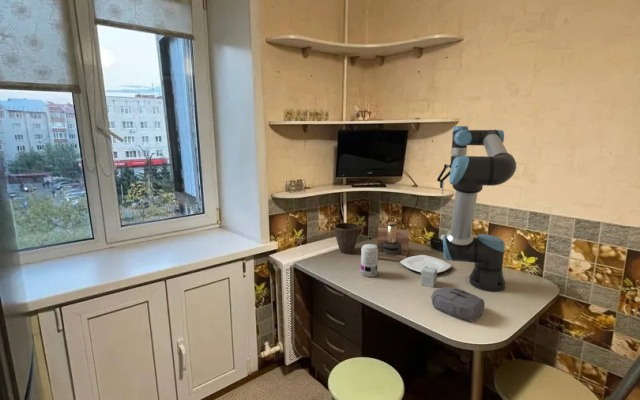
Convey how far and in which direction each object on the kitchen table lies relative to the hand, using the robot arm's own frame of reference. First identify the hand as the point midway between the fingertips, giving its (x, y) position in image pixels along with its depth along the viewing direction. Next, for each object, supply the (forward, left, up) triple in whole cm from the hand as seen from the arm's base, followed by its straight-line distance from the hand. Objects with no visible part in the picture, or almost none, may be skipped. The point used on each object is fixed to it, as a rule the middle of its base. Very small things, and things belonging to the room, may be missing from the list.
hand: (455, 194), depth 187 cm
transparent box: (-6, +33, -37) cm, 50 cm away
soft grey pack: (-59, 0, -37) cm, 70 cm away
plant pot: (-8, +59, -37) cm, 70 cm away
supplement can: (-36, +40, -37) cm, 65 cm away
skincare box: (-38, +11, -37) cm, 54 cm away
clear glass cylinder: (-6, +33, -35) cm, 49 cm away
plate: (-18, +13, -37) cm, 43 cm away
